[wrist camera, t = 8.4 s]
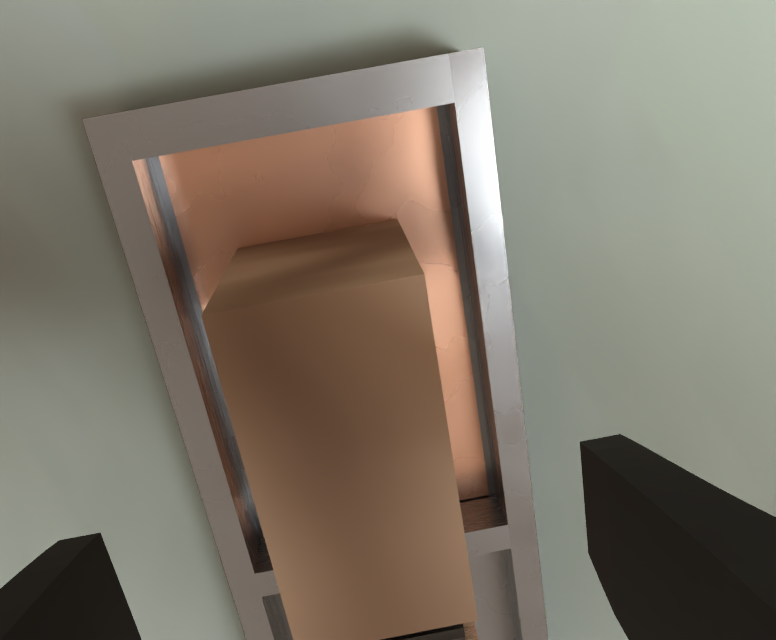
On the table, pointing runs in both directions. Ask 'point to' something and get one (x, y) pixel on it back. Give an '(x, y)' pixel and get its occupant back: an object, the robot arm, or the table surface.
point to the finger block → (344, 431)
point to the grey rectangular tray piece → (322, 214)
